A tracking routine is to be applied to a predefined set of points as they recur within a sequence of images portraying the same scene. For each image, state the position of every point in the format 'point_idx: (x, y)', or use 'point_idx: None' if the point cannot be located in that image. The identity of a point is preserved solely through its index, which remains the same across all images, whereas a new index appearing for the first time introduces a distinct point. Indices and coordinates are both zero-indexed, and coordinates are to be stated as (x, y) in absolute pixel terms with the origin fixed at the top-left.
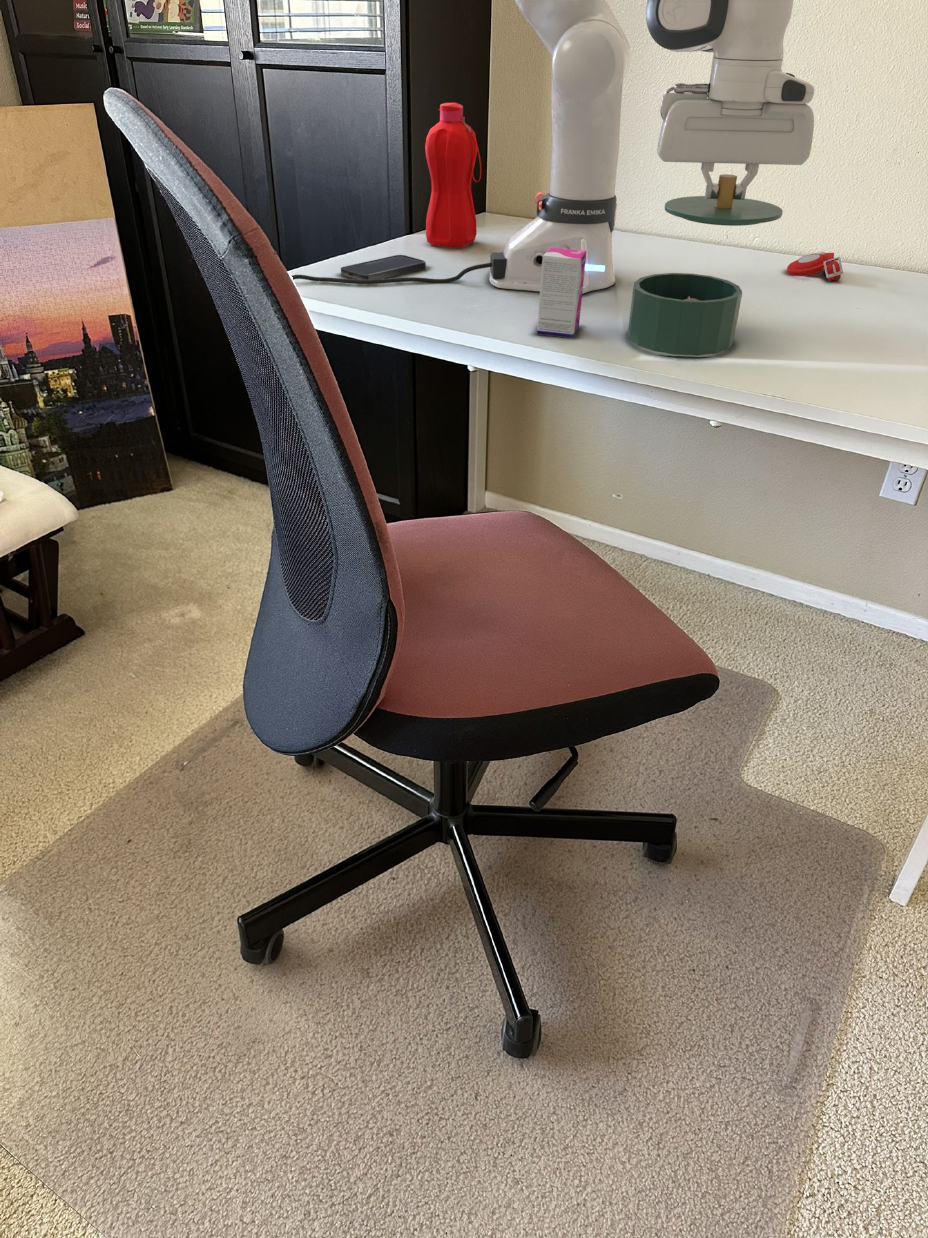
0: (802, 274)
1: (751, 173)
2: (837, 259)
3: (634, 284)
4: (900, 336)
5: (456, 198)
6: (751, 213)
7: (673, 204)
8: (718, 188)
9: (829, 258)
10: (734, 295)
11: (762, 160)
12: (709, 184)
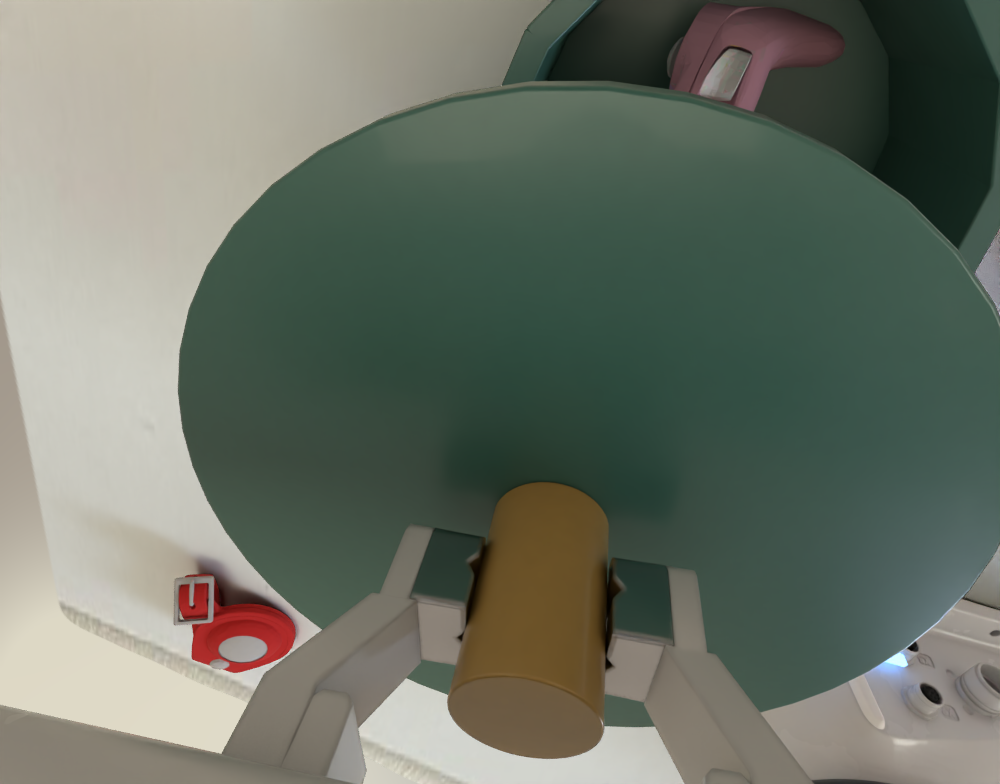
0: (264, 607)
1: (320, 679)
2: (181, 620)
3: (987, 248)
4: (28, 217)
5: None
6: (388, 339)
7: (884, 604)
8: (614, 613)
9: (201, 637)
10: (536, 52)
11: (158, 777)
12: (704, 653)
